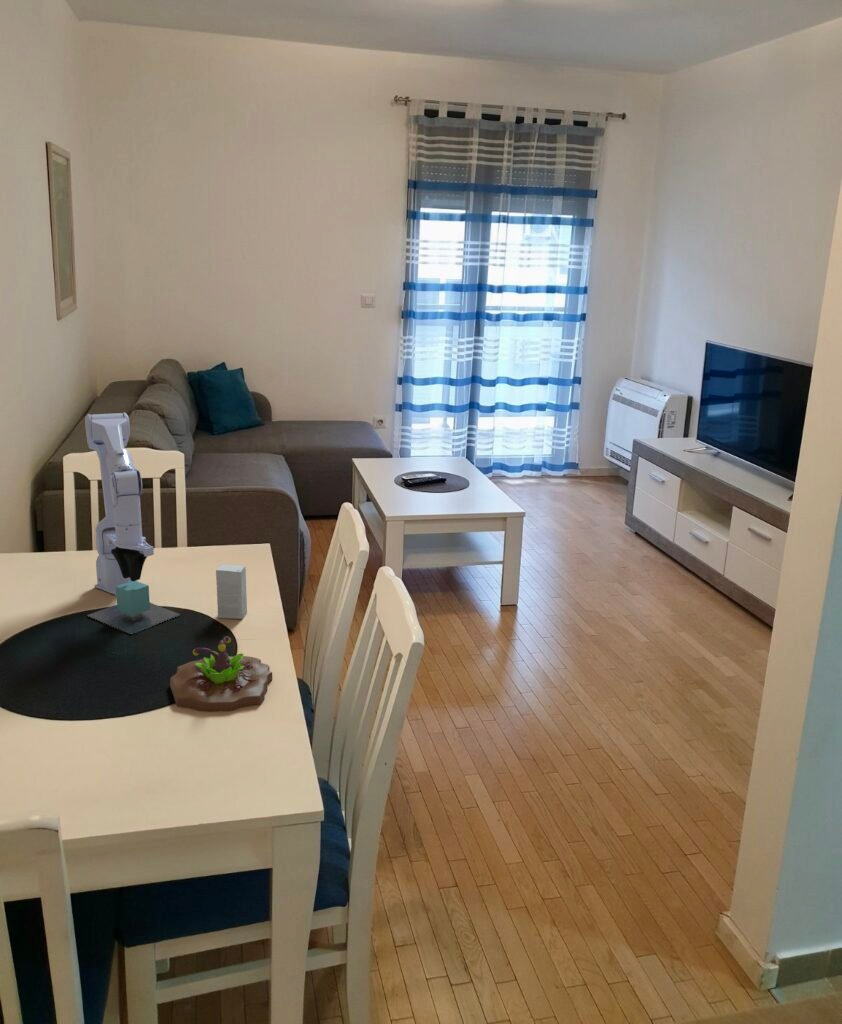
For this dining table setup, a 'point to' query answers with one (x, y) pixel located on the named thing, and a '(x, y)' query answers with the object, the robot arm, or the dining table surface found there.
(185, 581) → the dining table surface
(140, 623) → the dark grey square tile
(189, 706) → the plant
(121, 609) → the teal box
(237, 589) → the skincare box
